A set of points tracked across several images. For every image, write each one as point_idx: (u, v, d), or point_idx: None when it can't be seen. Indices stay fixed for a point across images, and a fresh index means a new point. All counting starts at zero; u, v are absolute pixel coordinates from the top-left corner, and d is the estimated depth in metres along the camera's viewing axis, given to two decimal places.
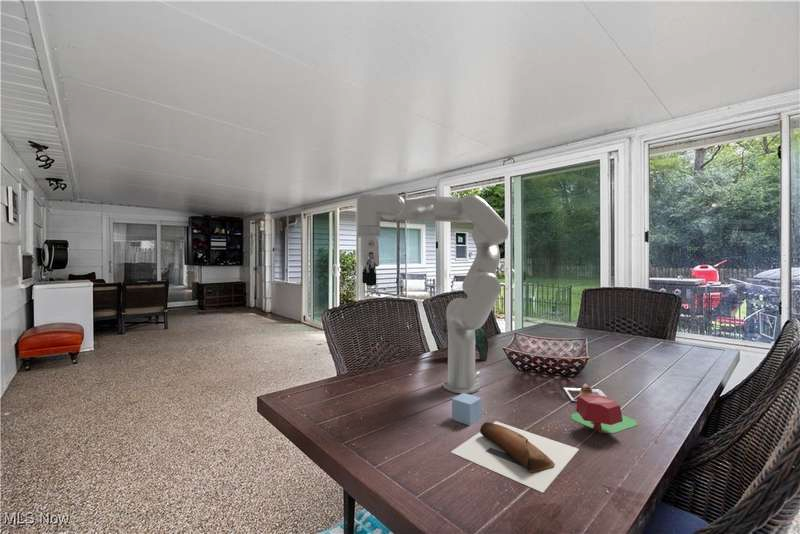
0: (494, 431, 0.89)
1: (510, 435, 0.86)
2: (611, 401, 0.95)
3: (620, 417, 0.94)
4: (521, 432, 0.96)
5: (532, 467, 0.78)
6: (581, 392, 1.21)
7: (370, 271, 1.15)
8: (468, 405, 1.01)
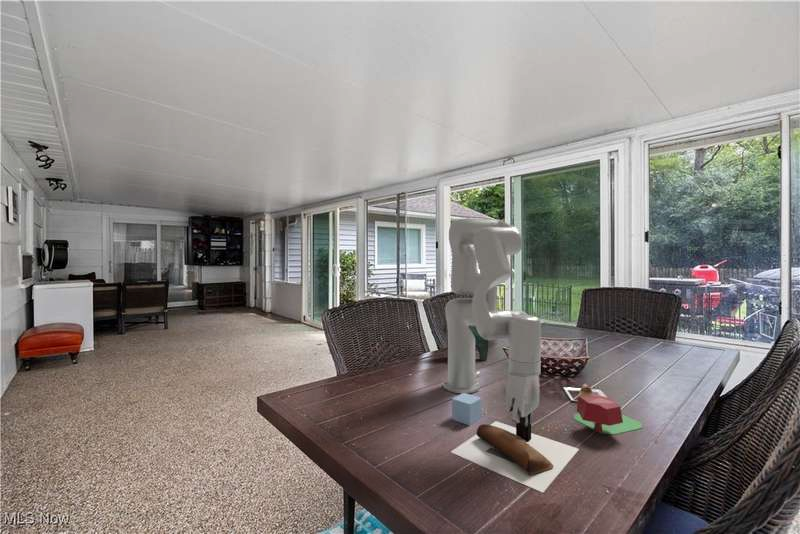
0: (492, 433, 0.88)
1: (508, 437, 0.85)
2: (611, 402, 0.95)
3: (620, 418, 0.93)
4: None
5: (532, 469, 0.78)
6: (581, 392, 1.21)
7: None
8: (468, 405, 1.01)
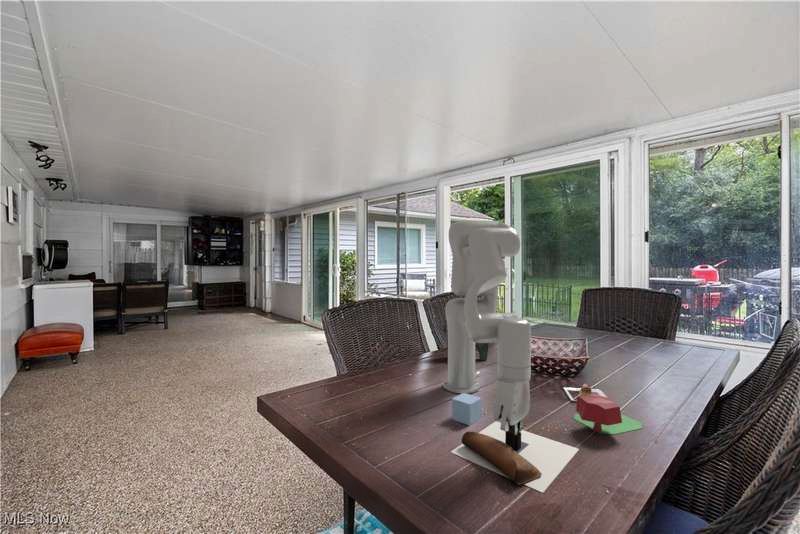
0: (477, 441, 0.85)
1: (494, 445, 0.82)
2: (611, 402, 0.95)
3: (619, 418, 0.93)
4: (521, 432, 0.96)
5: (519, 479, 0.74)
6: (581, 392, 1.21)
7: None
8: (468, 405, 1.01)
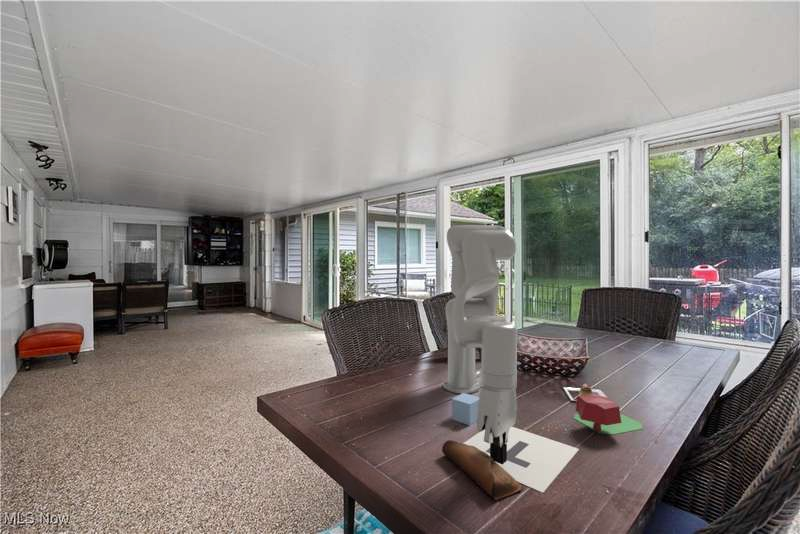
0: (457, 451, 0.81)
1: (473, 456, 0.78)
2: (610, 402, 0.95)
3: (618, 418, 0.93)
4: (521, 432, 0.96)
5: (497, 493, 0.70)
6: (581, 392, 1.21)
7: None
8: (468, 405, 1.01)
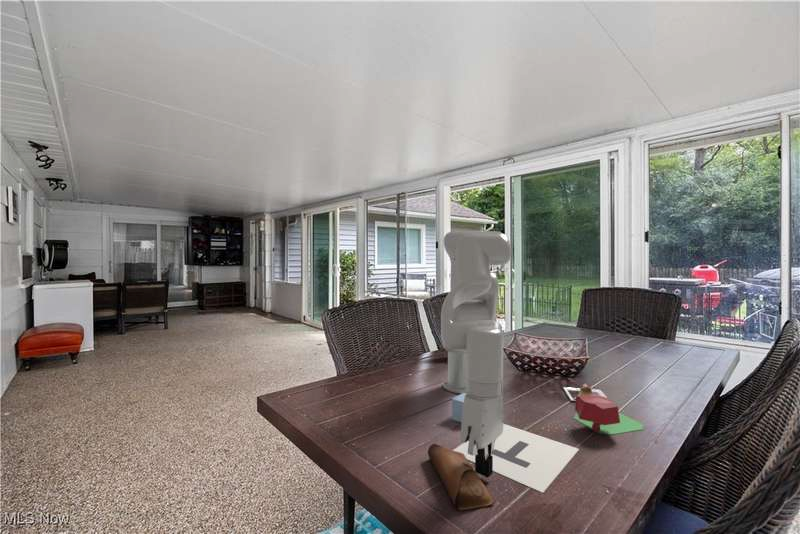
0: (438, 455, 0.79)
1: (450, 462, 0.75)
2: (609, 402, 0.95)
3: (617, 418, 0.93)
4: (521, 432, 0.96)
5: (462, 504, 0.67)
6: (581, 392, 1.21)
7: None
8: None
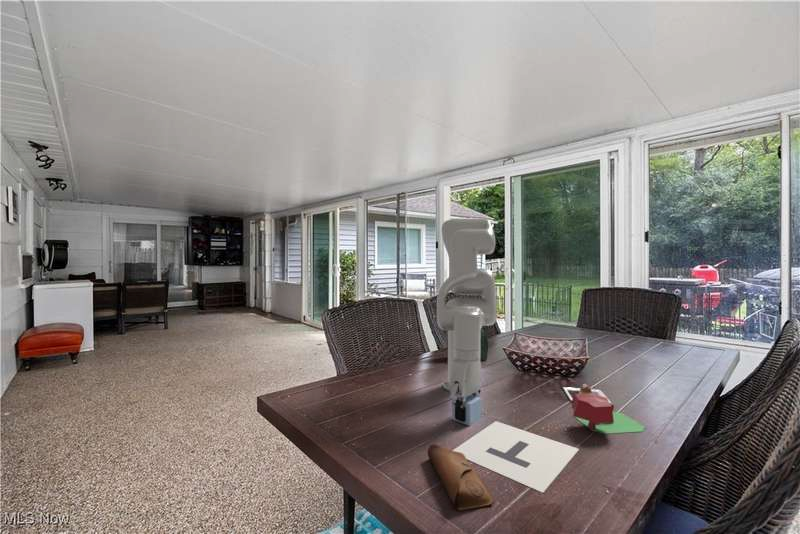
0: (437, 456, 0.79)
1: (450, 462, 0.75)
2: (603, 401, 0.95)
3: (610, 418, 0.93)
4: (521, 432, 0.96)
5: (461, 504, 0.67)
6: (580, 392, 1.21)
7: None
8: (468, 405, 1.01)
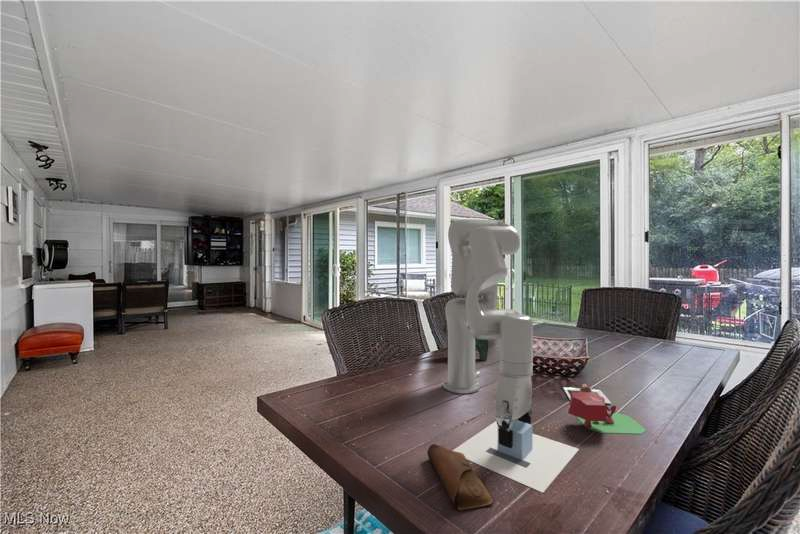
0: (437, 456, 0.79)
1: (450, 462, 0.75)
2: (598, 400, 0.96)
3: (603, 417, 0.94)
4: None
5: (461, 504, 0.67)
6: None
7: None
8: (519, 435, 0.83)
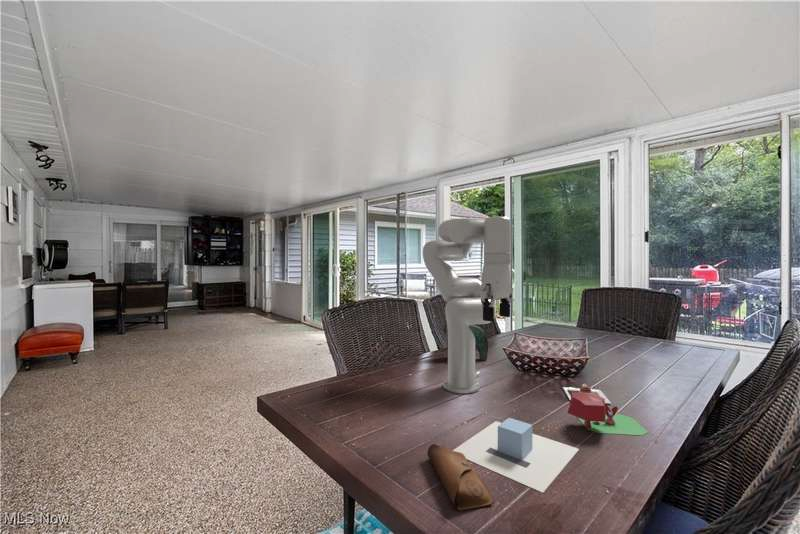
0: (437, 456, 0.79)
1: (449, 462, 0.75)
2: (597, 400, 0.96)
3: (602, 417, 0.94)
4: None
5: (461, 504, 0.67)
6: (580, 392, 1.21)
7: None
8: (519, 435, 0.83)
